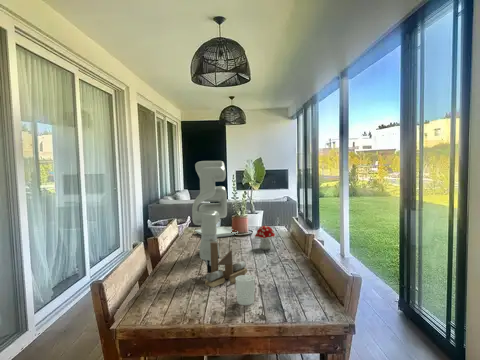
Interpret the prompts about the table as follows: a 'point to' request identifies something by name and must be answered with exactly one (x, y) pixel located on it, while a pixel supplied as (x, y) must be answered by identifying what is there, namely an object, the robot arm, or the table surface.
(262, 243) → the decorative mushroom
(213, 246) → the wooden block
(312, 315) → the table surface
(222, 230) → the square plate
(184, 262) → the table surface
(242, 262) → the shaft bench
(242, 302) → the white cup
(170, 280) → the table surface
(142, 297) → the table surface
